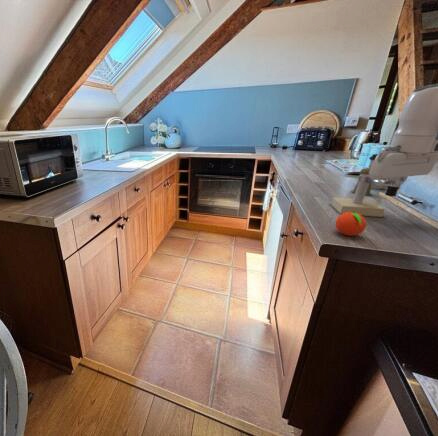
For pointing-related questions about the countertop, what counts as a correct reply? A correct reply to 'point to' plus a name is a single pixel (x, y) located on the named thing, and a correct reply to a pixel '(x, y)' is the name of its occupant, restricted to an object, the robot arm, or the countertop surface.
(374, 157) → the coffee cup
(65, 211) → the countertop surface
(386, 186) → the spout
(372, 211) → the base
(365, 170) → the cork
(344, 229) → the clementine
